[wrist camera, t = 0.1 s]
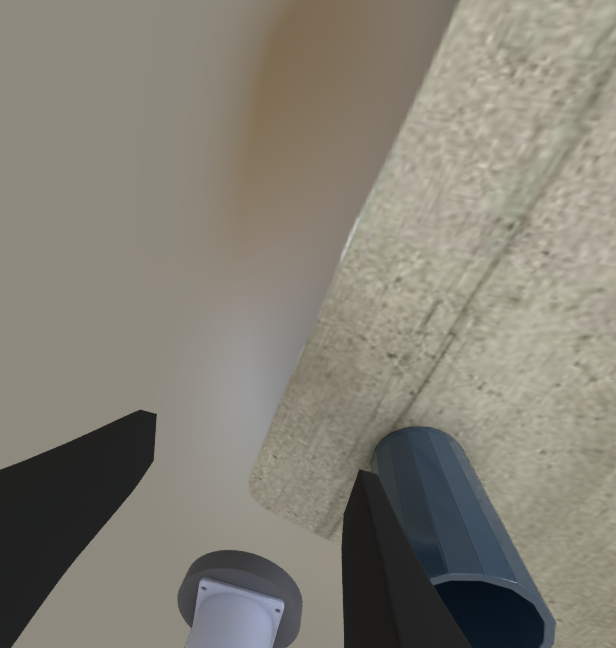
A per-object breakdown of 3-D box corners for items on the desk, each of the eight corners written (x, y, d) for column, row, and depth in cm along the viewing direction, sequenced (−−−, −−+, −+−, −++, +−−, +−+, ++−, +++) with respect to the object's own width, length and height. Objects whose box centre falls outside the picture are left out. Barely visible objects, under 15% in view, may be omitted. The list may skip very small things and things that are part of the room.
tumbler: (446, 511, 21) (513, 695, 13) (360, 488, 22) (369, 652, 13) (482, 441, 19) (588, 603, 11) (386, 415, 20) (416, 555, 11)
